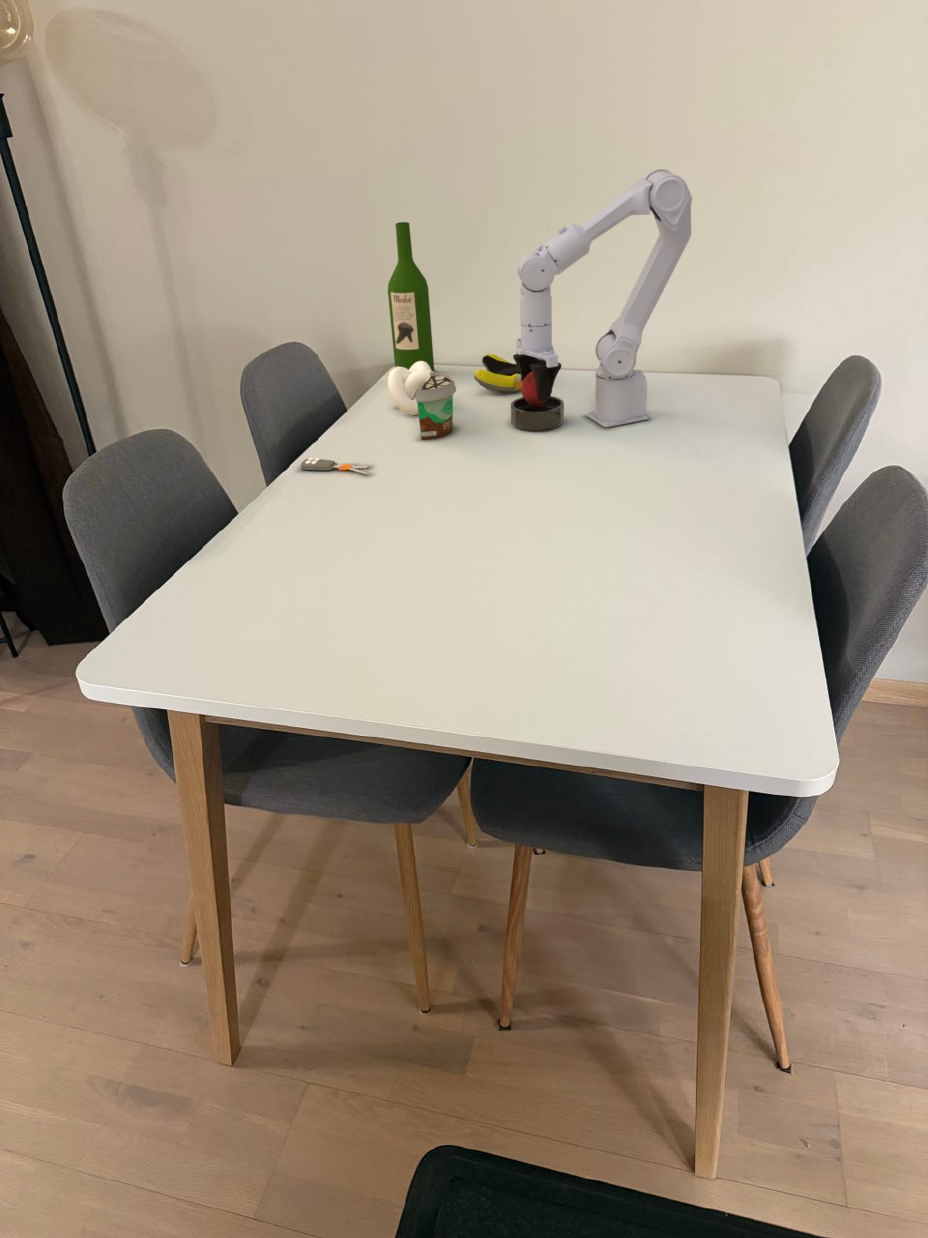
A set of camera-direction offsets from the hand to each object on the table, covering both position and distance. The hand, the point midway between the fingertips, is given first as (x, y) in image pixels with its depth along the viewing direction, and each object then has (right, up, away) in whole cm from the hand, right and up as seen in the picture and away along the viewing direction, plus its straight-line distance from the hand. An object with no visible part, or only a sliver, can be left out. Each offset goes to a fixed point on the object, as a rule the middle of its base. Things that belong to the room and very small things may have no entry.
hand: (537, 395), depth 174 cm
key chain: (-37, -16, -11) cm, 42 cm away
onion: (0, -2, +1) cm, 3 cm away
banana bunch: (-6, +8, +24) cm, 26 cm away
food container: (-18, -7, +2) cm, 20 cm away
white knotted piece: (-24, +1, +15) cm, 28 cm away
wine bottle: (-25, +13, +35) cm, 45 cm away
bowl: (0, -5, +3) cm, 6 cm away
